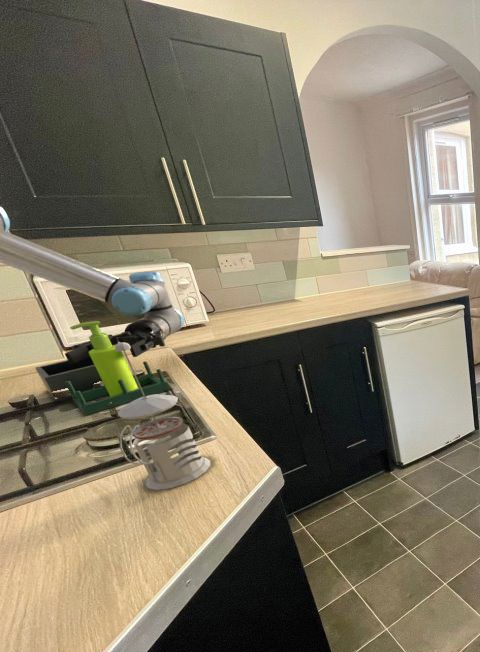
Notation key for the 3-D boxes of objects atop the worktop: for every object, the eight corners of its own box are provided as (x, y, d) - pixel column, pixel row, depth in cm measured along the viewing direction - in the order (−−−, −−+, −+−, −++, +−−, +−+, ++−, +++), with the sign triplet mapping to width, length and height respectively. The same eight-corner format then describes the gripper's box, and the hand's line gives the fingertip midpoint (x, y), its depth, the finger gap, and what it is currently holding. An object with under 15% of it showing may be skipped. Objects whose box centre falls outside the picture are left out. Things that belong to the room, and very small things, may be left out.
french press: (222, 456, 81) (173, 332, 70) (177, 496, 70) (112, 356, 60) (173, 458, 81) (117, 334, 71) (121, 497, 71) (46, 358, 60)
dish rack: (86, 415, 100) (74, 393, 98) (74, 403, 107) (63, 382, 105) (170, 389, 113) (161, 369, 110) (155, 380, 119) (146, 360, 117)
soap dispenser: (105, 397, 110) (69, 323, 101) (139, 389, 114) (106, 317, 106) (107, 404, 106) (69, 327, 98) (141, 395, 110) (108, 321, 102)
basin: (57, 402, 108) (44, 377, 105) (47, 390, 116) (34, 367, 113) (134, 381, 120) (124, 358, 117) (121, 371, 127) (111, 350, 125)
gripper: (199, 339, 127) (163, 362, 108) (103, 348, 122) (49, 375, 103) (190, 314, 124) (152, 335, 105) (91, 323, 119) (33, 346, 100)
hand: (101, 355), depth 104 cm, fingers open, 13 cm apart
